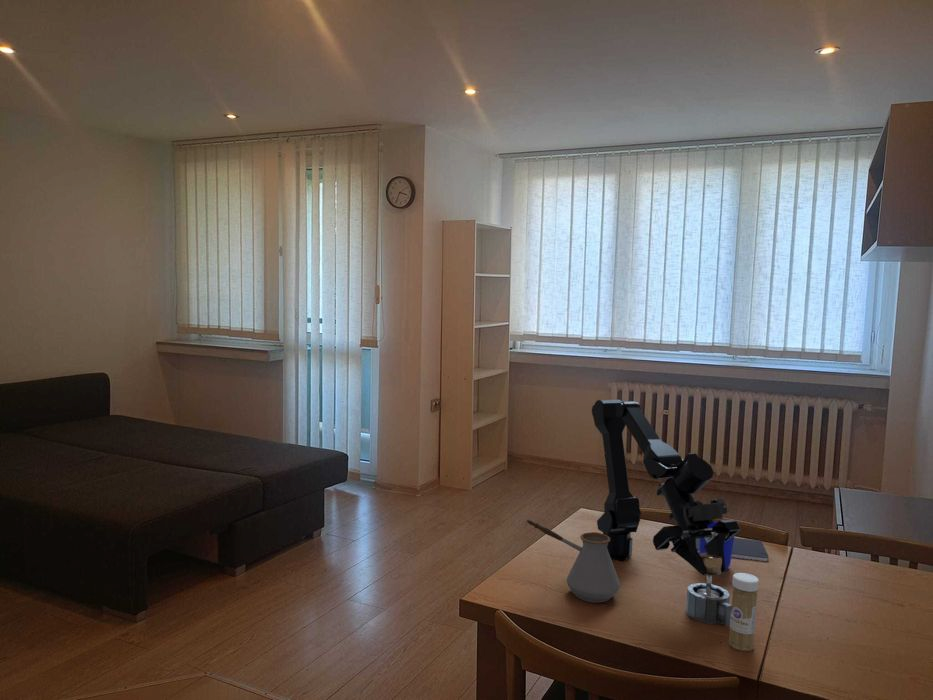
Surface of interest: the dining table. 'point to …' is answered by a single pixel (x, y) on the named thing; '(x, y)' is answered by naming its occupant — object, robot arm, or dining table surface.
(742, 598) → the sprinkles bottle
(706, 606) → the press body
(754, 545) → the notebook
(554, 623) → the dining table surface
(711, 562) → the plunger
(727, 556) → the mug
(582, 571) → the coffee pot
